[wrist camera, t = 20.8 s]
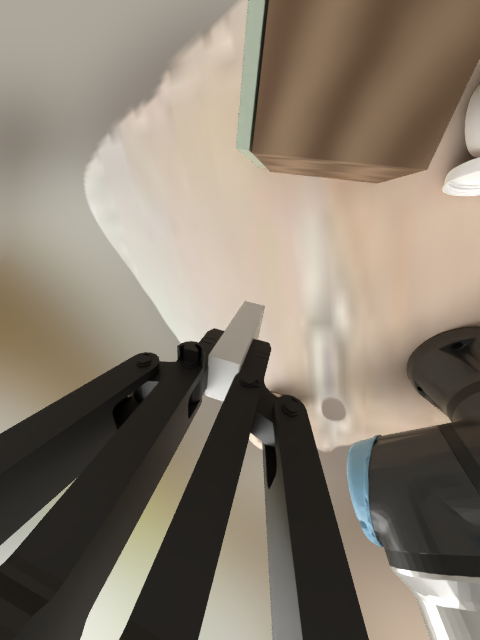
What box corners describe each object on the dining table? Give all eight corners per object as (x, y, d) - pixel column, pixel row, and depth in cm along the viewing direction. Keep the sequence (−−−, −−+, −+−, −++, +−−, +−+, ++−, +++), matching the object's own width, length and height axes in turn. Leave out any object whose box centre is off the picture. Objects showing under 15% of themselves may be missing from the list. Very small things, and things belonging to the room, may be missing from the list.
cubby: (270, 171, 29) (251, 152, 18) (297, -7, 21) (292, -216, 11) (377, 183, 27) (426, 169, 16) (451, -13, 19) (640, -286, 8)
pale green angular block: (258, 167, 28) (236, 149, 19) (281, -15, 20) (263, -196, 11) (360, 178, 26) (393, 163, 16) (428, -21, 18) (557, -251, 9)
